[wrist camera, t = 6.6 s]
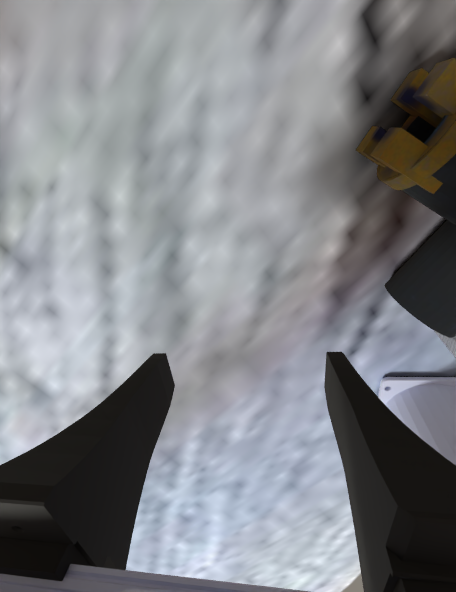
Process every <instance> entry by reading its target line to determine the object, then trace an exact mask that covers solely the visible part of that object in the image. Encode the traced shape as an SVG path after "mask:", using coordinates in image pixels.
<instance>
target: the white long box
mask: <svg viewBox="0 0 456 592" xmlns="http://www.w3.org/2000/svg"><path fill="white" fill-rule="evenodd" d="M434 332H435V333H436V334H437V335H438V337H439V338H440V339H441V340H442V342H443V343H444V344H445V345H446V347H447V348H448V349H449V350H450V352H451V353H452V354H453V355H454V357H455V358H456V336H455V337H453V338H449V337H446V336H444V335H442V334H440V333H438V332H436V331H434Z"/></svg>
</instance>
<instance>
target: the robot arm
mask: <svg viewBox="0 0 456 592" xmlns="http://www.w3.org/2000/svg"><path fill="white" fill-rule="evenodd" d="M174 387H175V384H174V381H173V377H172V374H171V370H170V366H169V363H168V359H167V356H166V353H162V354H153V355H152V356H150V357H149V358H148V359H147V360H146V361H145V362H144V363H143V364H142V365H141V366H140V367H139V368H138V369H137V370H136V371H135V372H134V373H133V374H132V375H131V376H130V377H129V378H128V379H127V380H126V381H125V382H124V383H123V384H122V385H121V386H120V387H119V388H117V389H116V390H115V391H114V392H113V393H112V394H111V395H110V396H108V397H107V398H106V399H105V400H104V401H103V402H101V403H100V404H99V405H98V406H97V407H95V408H94V409H93V410H91V411H90V412H89V413H87V414H86V415H85V416H83V417H82V418H81V419H79V420H78V421H76V422H75V423H73V424H72V425H70V426H69V427H67V428H66V429H64V430H63V431H61V432H60V433H58V434H57V435H55V436H54V437H52V438H50V439H49V440H47V441H45V442H44V443H42V444H40V445H38V446H37V447H35V448H33V449H31V450H29V451H28V452H26V453H24V454H22V455H20V456H18V457H16V458H14V459H12V460H10V461H8V462H6V463H4V464H2V465H0V592H309V591H300V590H292V589H283V588H274V587H266V586H257V585H248V584H240V583H231V582H223V581H214V580H205V579H197V578H188V577H179V576H171V575H162V574H153V573H145V572H136V571H127V570H125V569H126V564H127V559H128V554H129V548H130V543H131V538H132V533H133V529H134V524H135V519H136V515H137V510H138V506H139V502H140V498H141V494H142V489H143V485H144V482H145V478H146V474H147V470H148V467H149V463H150V460H151V457H152V454H153V451H154V448H155V445H156V443H157V440H158V437H159V435H160V432H161V429H162V427H163V424H164V421H165V419H166V416H167V413H168V410H169V407H170V404H171V400H172V396H173V391H174ZM325 393H326V400H327V406H328V411H329V415H330V419H331V422H332V426H333V430H334V433H335V437H336V440H337V444H338V448H339V451H340V455H341V459H342V463H343V467H344V471H345V476H346V482H347V488H348V493H349V499H350V505H351V511H352V517H353V523H354V529H355V535H356V541H357V548H358V554H359V561H360V568H361V574H362V581H363V588H364V592H456V377H385V378H383V379H382V380H381V383H380V389H379V394H378V397H377V395H376V394H375V393H374V392H373V391H372V390H371V389H370V387H369V386H368V385H367V384H366V383H365V381H364V380H363V379H362V378H361V377H360V375H359V374H358V373H357V371H356V370H355V369H354V367H353V366H352V365H351V363H350V362H349V361H348V359H347V358H346V356H345V355H344V354H343V353H342V352H327V355H326V371H325Z"/></svg>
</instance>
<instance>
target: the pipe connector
mask: <svg viewBox="0 0 456 592" xmlns="http://www.w3.org/2000/svg"><path fill="white" fill-rule="evenodd" d="M391 101H392V102H393V103H395V104H396V105H398V106H399V107H400V108H402V109H403V110H405V111H406V112H408V113H409V114H410V116H409V118H408V119H407V120H406V122H405V123H404V124H403V126H402V127H401V128H394V127H390V128H389V130H388V131H386V130H385V129H383V128H382V127H376V126H372V127H371V129H370V130H369V132H368V133H367V134H366V136H365V137H364V139H363V140H362V142H361V143H360V145H359V146H358V147H357V149H356V151H358V152H359V153H361V154H362V155H364V156H365V157H367V158H368V159H370V160H371V161H373V162H374V163H376V164H377V165H378V168H377V177H378V179H379V180H380V181H382V182H383V183H385V184H387V185H388V186H390V187H391V188H393V189H395V190H402V191H404V192H405V193H407V194H408V195H410V196H411V197H413V198H414V199H416V200H417V201H419V202H420V203H422V204H424V205H425V206H427V207H428V208H430V209H431V210H433V211H434V212H436V213H437V214H439V215H440V216H442V217H444V218H445V219H447V221H446V222H445V223H444V224H443V225H442V226H441V227H440V228H439V229H438V230H437V231H436V232H435V233H434V234H433V235H432V236H431V237H430V238H429V239H428V240H427V241H426V242H425V243H424V244H423V245H422V247H421V248H420V249H419V250H418V251H417V252H416V253H415V254H414V255H413V256H412V257H411V258H410V259H409V260H408V261H407V262H406V263H405V264H404V265H403V266H402V267H401V268H400V269H399V270H398V271H397V272H396V273H395V275H394V276H393V277H392V278H391V279H390V280H389V281H388V282H387V283H386V284H385V288H386V289H387V291H388V292H389V293H390V295H391V296H392V297H393V298H394V299H395V300H396V301H397V302H398V303H399V304H400V305H401V306H402V307H403V308H405V309H406V310H407V311H408V312H409V313H411V314H412V315H413V316H414V317H416V318H417V319H418V320H420V321H421V322H422V323H424V324H425V325H427V326H428V327H430V328H431V329H433V330H434V331H436V332H438V333H440V334H442V335H444V336H446V337H449V338H453V337H455V336H456V59H455V58H451V59H448V60H445V61H442V62H439V63H436V65H435V66H434V68H433V69H432V70H431V72H430V73H428V72H427V71H425V70H424V69H423V68H421V69H418V70H415V71H412V72H410V73H409V74H408V76H407V77H406V78H405V80H404V81H403V83H402V84H401V86H400V87H399V89H398V90H397V91H396V93H395V94H394V96H393V97H392V99H391Z"/></svg>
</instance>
